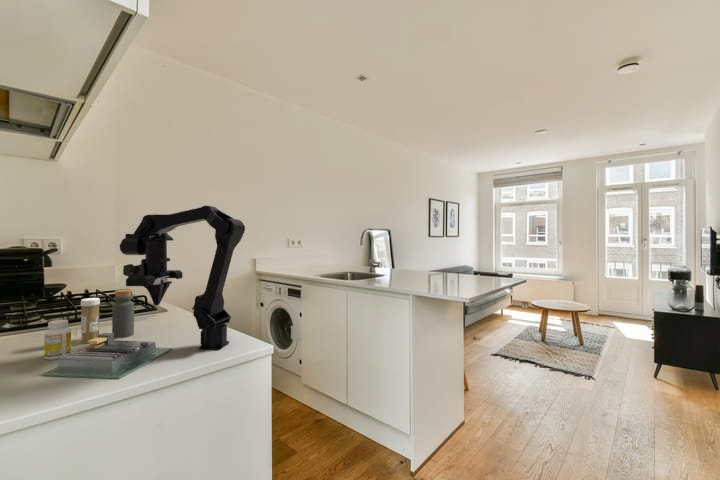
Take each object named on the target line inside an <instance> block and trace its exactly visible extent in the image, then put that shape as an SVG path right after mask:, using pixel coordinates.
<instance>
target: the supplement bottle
mask: <svg viewBox="0 0 720 480" xmlns="http://www.w3.org/2000/svg"><path fill="white" fill-rule="evenodd" d="M47 327H48V329H47V330H46V331H45V332H44V339H43V340H44V345H43V347H44V353H43V356H44V357H43V358H44V359H45V360H59V359H60V356H62V355H66V354H67V353H71V352H72V329H71V327H69V320H68V319H56V320H52V321H48V324H47Z"/></svg>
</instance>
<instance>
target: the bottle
mask: <svg viewBox="0 0 720 480" xmlns="http://www.w3.org/2000/svg"><path fill="white" fill-rule="evenodd" d="M132 292H133V289H130V288H129V289H128V288H127V289H125V288H124V289H117V290H114V294H115V296H114V297H113V300H114V301H115V303H113V304H112V306H111V307H112V313H111V316H112V317H111V319H112V320H111V328H112V329H111V331H112V332H111V333H114V339H123V338H128V337H131V336H133V335H134V334H135V302H134V301H132V299H133V298H134V295H133V294H132Z"/></svg>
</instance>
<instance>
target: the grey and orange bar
mask: <svg viewBox="0 0 720 480" xmlns="http://www.w3.org/2000/svg"><path fill="white" fill-rule="evenodd" d="M128 348H135V352H137V351H139V350H141V349H143V348H144V346H143V345H142V346H132V345H109V344H105V343H98V344H89V345H86V346H85V349H86V350H87V351H110V352H127V349H128Z"/></svg>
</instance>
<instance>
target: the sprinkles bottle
mask: <svg viewBox="0 0 720 480" xmlns="http://www.w3.org/2000/svg"><path fill="white" fill-rule="evenodd" d="M100 304H101V299H100V298H99V297H88V298H82V299H81V300H80V307H81V316H80V319H81V321H80V333H81V339H80V344H81V343H82V344H83V345H84V344H89V343H88V341H89V340H92V339H94V338H97V337H98V335H99V334H100Z"/></svg>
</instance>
